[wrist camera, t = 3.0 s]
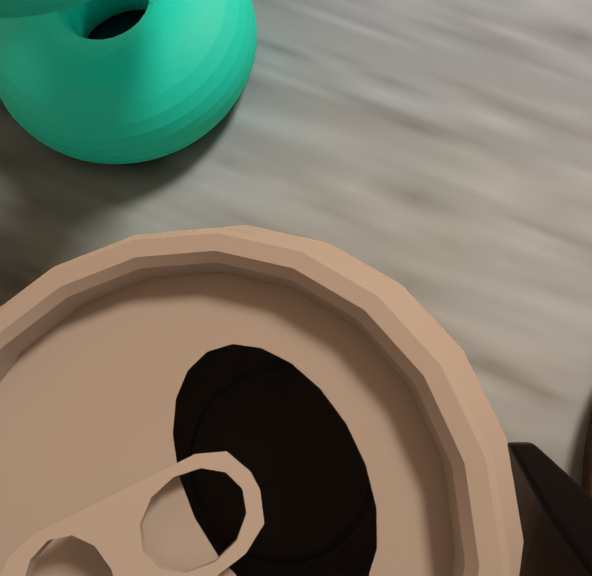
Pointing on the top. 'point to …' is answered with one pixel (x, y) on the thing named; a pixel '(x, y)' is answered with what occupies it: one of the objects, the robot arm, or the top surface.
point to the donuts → (123, 73)
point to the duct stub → (588, 461)
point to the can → (242, 419)
